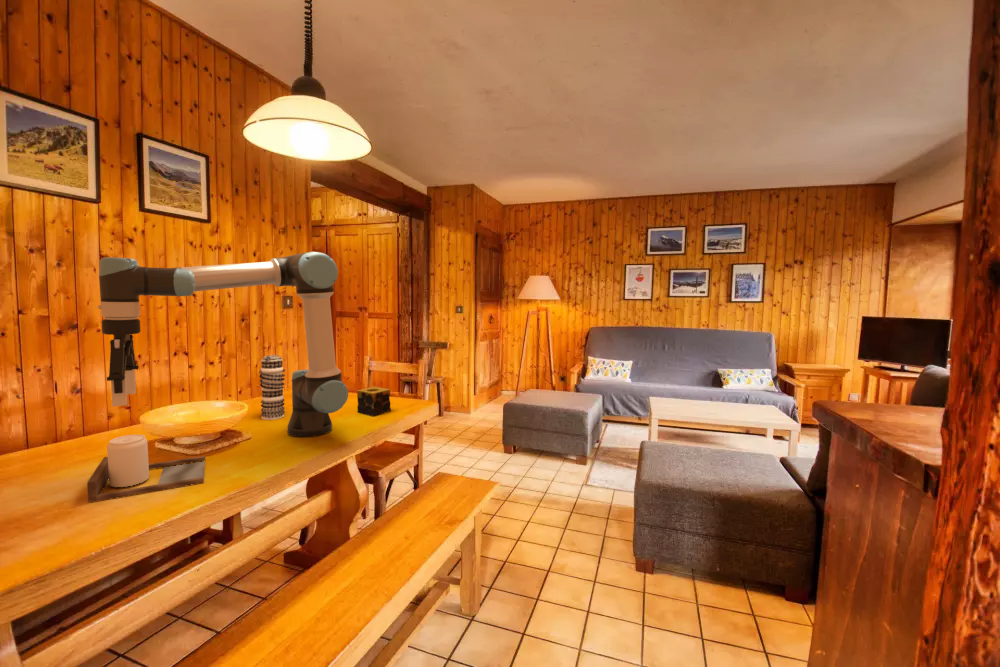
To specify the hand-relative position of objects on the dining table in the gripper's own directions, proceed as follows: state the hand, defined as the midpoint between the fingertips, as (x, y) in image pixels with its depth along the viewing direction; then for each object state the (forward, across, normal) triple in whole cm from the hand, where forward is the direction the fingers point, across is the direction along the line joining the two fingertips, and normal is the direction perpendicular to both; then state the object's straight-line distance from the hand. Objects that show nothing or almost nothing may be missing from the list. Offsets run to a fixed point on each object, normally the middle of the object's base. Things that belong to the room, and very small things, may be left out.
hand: (124, 399), depth 115 cm
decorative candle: (+22, -49, +38) cm, 66 cm away
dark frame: (+22, 0, +5) cm, 23 cm away
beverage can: (+23, 0, 0) cm, 23 cm away
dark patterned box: (+22, -38, +77) cm, 88 cm away
